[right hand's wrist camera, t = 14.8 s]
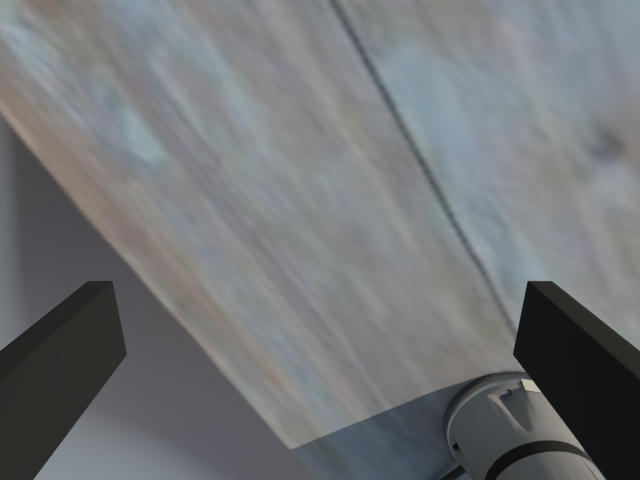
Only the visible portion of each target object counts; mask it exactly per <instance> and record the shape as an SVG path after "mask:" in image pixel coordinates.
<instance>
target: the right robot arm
mask: <svg viewBox="0 0 640 480" xmlns="http://www.w3.org/2000/svg"><path fill="white" fill-rule="evenodd" d="M126 355H127V352H126V347H125V342H124V337H123V332H122V327H121V322H120V317H119V312H118V307H117V302H116V297H115V293H114V287H113V282H112V281H88V282H87V283H85V284H84V285H83V286H81V287H80V288H79V289H78V290H76V291H75V292H74V293H73V294H71V295H70V296H69V297H68V298H66V299H65V300H64V301H63V302H61V303H60V304H59V305H58V306H56V307H55V308H54V309H53V310H51V311H50V312H49V313H47V314H46V315H45V316H44V317H43V318H41V319H40V320H39V321H37V322H36V323H35V324H34V325H32V326H31V327H30V328H29V329H27V330H26V331H25V332H24V333H22V334H21V335H20V336H19V337H17V338H16V339H15V340H14V341H12V342H11V343H10V344H9V345H7V346H6V347H5V348H3V349H2V350H1V351H0V480H33V479H34V478H35V477H36V475H37V474H38V473H39V471H40V470H41V469H42V467H43V466H44V465H45V463H46V462H47V461H48V459H49V458H50V457H51V455H52V454H53V453H54V451H55V450H56V449H57V447H58V446H59V444H60V443H61V442H62V441H63V439H64V438H65V437H66V435H67V434H68V433H69V431H70V430H71V428H72V427H73V426H74V425H75V423H76V422H77V421H78V419H79V418H80V417H81V415H82V414H83V413H84V411H85V410H86V409H87V407H88V406H89V404H90V403H91V402H92V401H93V399H94V398H95V396H96V395H97V394H98V392H99V391H100V390H101V388H102V387H103V386H104V385H105V383H106V382H107V380H108V379H109V378H110V376H111V375H112V374H113V372H114V371H115V370H116V368H117V367H118V366H119V364H120V363H121V362H122V360H123V359H124V358H125V356H126ZM513 355H514V356H515V358H516V359H517V360H518V362H519V363H520V364H521V366H522V367H523V368H524V370H525V371H526V372H527V373H525V372H502V373H496V374H492V375H489V376H486V377H483V378H481V379H479V380H477V381H475V382H473V383H471V384H470V385H468V386H467V387H466V388H464V389H463V390H462V391H461V392H460V393H459V394H458V395H457V396H456V397H455V398H454V399H453V401H452V402H451V404H450V405H449V407H448V409H447V411H446V414H445V418H444V433H445V437H446V439H447V442H448V445H449V448H450V450H451V452H452V454H453V456H454V457H455V459H456V460H457V461H458V462H459V463H460V464H461V465H460V466H458V467H457V468H456V469H454V470H453V471H452V472H450V473H449V474H447V475H446V476H445V477H443V478H441V479H440V480H455V479H457V478H458V477H460V476H461V475H462V474H464V473H465V472H467V473H468V474H469V475H470V476H471V478H472V479H473V480H605V479H604V477H605V478H606V479H607V480H640V351H639V350H638V349H637V348H635V347H634V346H633V345H632V344H630V343H629V342H628V341H627V340H625V339H624V338H623V337H621V336H620V335H619V334H618V333H616V332H615V331H614V330H613V329H611V328H610V327H609V326H608V325H606V324H605V323H604V322H603V321H601V320H600V319H599V318H598V317H596V316H595V315H594V314H593V313H591V312H590V311H589V310H588V309H586V308H585V307H584V306H582V305H581V304H580V303H579V302H577V301H576V300H575V299H574V298H572V297H571V296H570V295H569V294H567V293H566V292H565V291H564V290H562V289H561V288H560V287H559V286H557V285H556V284H555V283H554V282H552V281H528V282H527V287H526V292H525V297H524V302H523V307H522V312H521V317H520V322H519V327H518V332H517V337H516V342H515V347H514V352H513ZM584 450H585V451H586V453H587V454H588V455H589V457H590V458H591V459H592V461H593V462H594V463H595V465H596V466H597V467H598V469H599V470H600V471H601V473H602V474H603V475H604V477H603V476H602V475H601V473H600V472H599V471H598V469H597V468H596V467H595V466H594V464H593V463H592V462H591V460H590V459H589V458H588V456H587V455H586V453H585V452H584Z"/></svg>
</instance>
